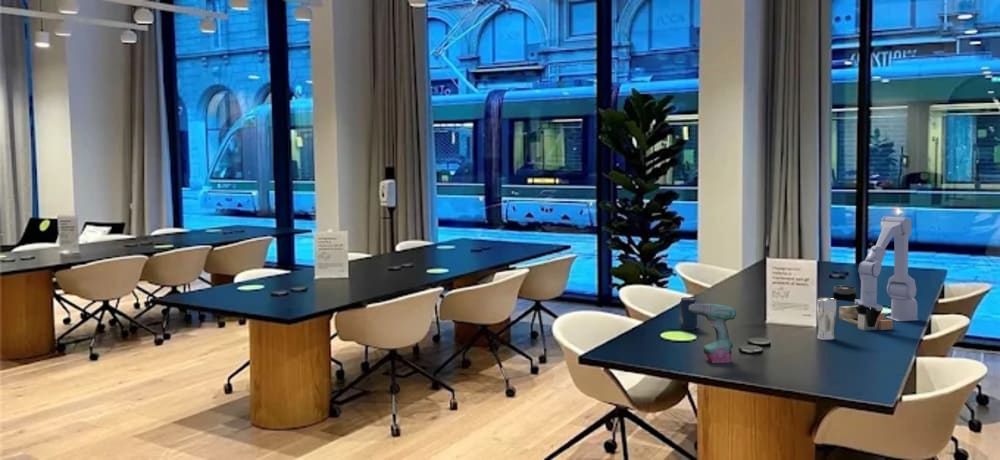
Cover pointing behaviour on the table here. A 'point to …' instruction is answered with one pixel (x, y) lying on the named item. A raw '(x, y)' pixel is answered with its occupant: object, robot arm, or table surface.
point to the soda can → (687, 313)
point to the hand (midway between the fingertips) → (867, 325)
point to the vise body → (848, 314)
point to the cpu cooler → (844, 292)
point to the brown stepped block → (884, 322)
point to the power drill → (717, 330)
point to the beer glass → (826, 318)
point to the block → (865, 322)
